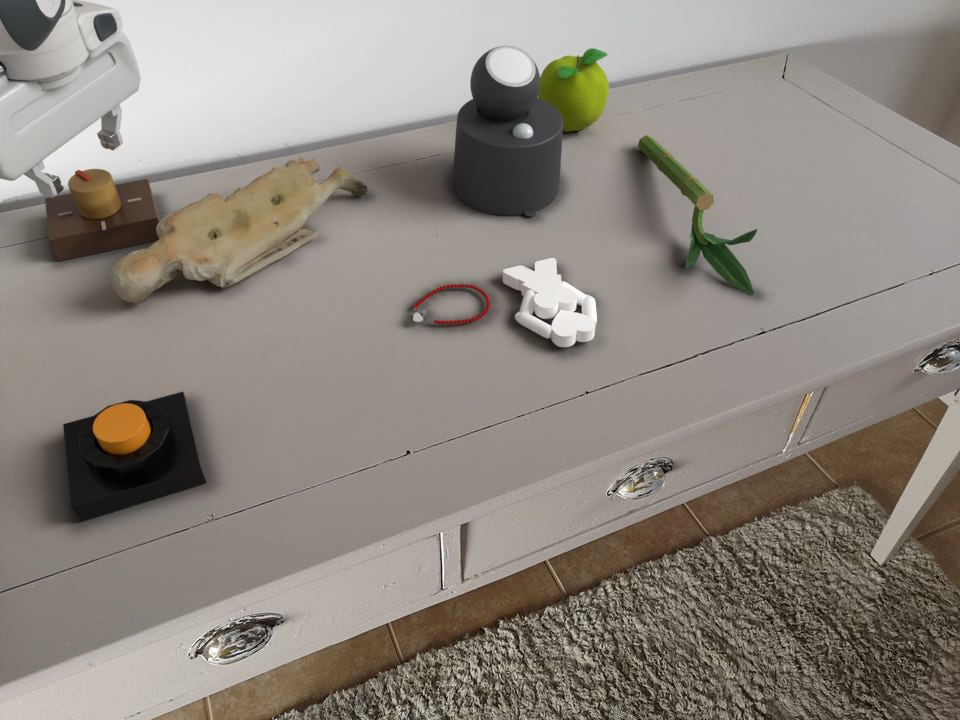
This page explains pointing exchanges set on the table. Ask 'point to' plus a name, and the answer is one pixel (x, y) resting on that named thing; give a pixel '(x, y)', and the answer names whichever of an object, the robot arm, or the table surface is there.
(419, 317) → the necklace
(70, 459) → the switch box
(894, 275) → the table surface
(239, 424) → the table surface
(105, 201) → the dimmer knob
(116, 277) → the statue
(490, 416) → the table surface
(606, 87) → the fruit
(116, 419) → the light button
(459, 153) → the light fixture
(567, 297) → the white abstract figurine
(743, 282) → the decorative plant
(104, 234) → the dimmer panel
